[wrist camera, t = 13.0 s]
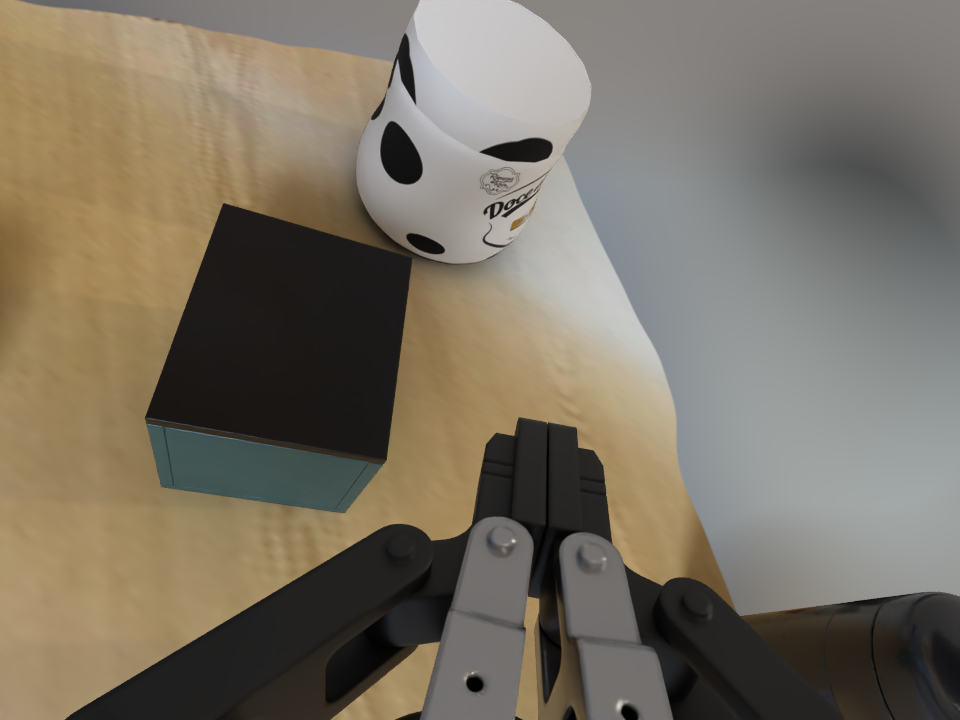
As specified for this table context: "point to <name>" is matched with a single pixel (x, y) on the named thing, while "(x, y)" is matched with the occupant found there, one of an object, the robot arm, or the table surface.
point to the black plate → (288, 340)
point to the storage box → (257, 470)
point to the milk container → (469, 128)
